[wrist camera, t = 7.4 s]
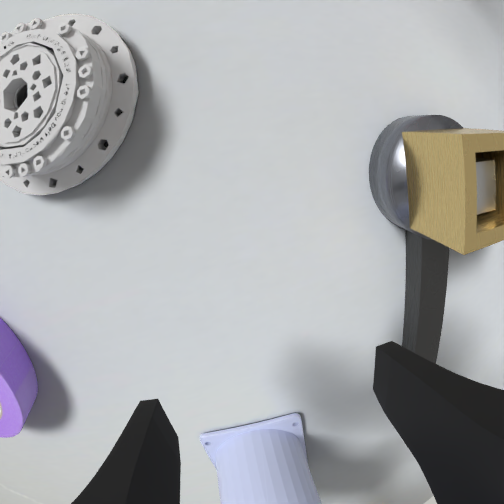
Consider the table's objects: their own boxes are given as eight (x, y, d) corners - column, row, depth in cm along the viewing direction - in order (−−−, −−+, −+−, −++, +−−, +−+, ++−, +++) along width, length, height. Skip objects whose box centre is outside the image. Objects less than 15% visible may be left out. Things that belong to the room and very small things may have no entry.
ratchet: (444, 345, 23) (483, 382, 18) (374, 375, 23) (408, 424, 17) (449, 115, 17) (513, 116, 11) (360, 119, 16) (422, 114, 11)
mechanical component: (149, 172, 16) (136, 2, 12) (131, 182, 12) (119, -34, 8) (0, 206, 15) (-10, 54, 11) (-43, 225, 10) (-51, 42, 7)
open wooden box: (471, 211, 16) (523, 232, 12) (409, 228, 16) (463, 254, 12) (467, 128, 15) (523, 132, 10) (401, 131, 14) (461, 134, 10)
